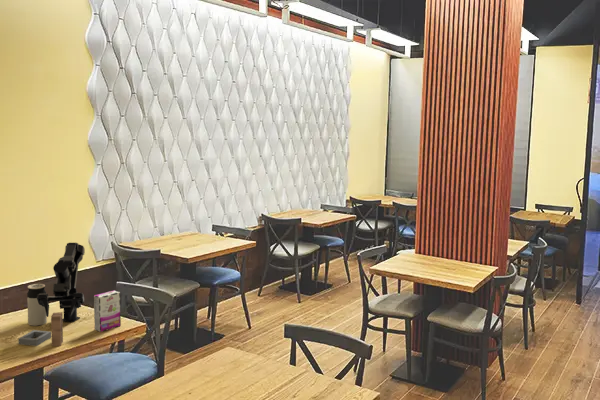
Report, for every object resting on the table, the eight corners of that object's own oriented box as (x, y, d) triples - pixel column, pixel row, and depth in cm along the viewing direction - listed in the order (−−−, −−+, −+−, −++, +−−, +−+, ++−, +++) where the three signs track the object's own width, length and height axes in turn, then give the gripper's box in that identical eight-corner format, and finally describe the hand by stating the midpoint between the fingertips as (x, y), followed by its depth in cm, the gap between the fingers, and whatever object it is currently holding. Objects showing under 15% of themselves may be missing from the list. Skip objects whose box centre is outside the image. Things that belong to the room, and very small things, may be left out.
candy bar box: (114, 323, 274) (114, 289, 272) (121, 326, 271) (120, 292, 269) (93, 329, 265) (93, 295, 263) (100, 332, 262) (99, 297, 260)
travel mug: (50, 320, 275) (49, 284, 273) (40, 326, 267) (40, 288, 265) (34, 319, 276) (33, 283, 273) (24, 325, 268) (23, 287, 266)
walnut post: (54, 341, 249) (53, 312, 248) (62, 341, 250) (62, 312, 248) (51, 346, 244) (51, 316, 243) (60, 345, 245) (60, 316, 244)
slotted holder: (33, 335, 256) (33, 330, 255) (51, 337, 254) (51, 331, 254) (18, 344, 245) (18, 338, 245) (36, 345, 244) (36, 340, 244)
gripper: (37, 275, 251) (31, 308, 241) (82, 274, 255) (79, 306, 245) (41, 288, 259) (36, 320, 250) (85, 287, 263) (82, 318, 254)
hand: (58, 316), depth 250 cm, fingers open, 9 cm apart
